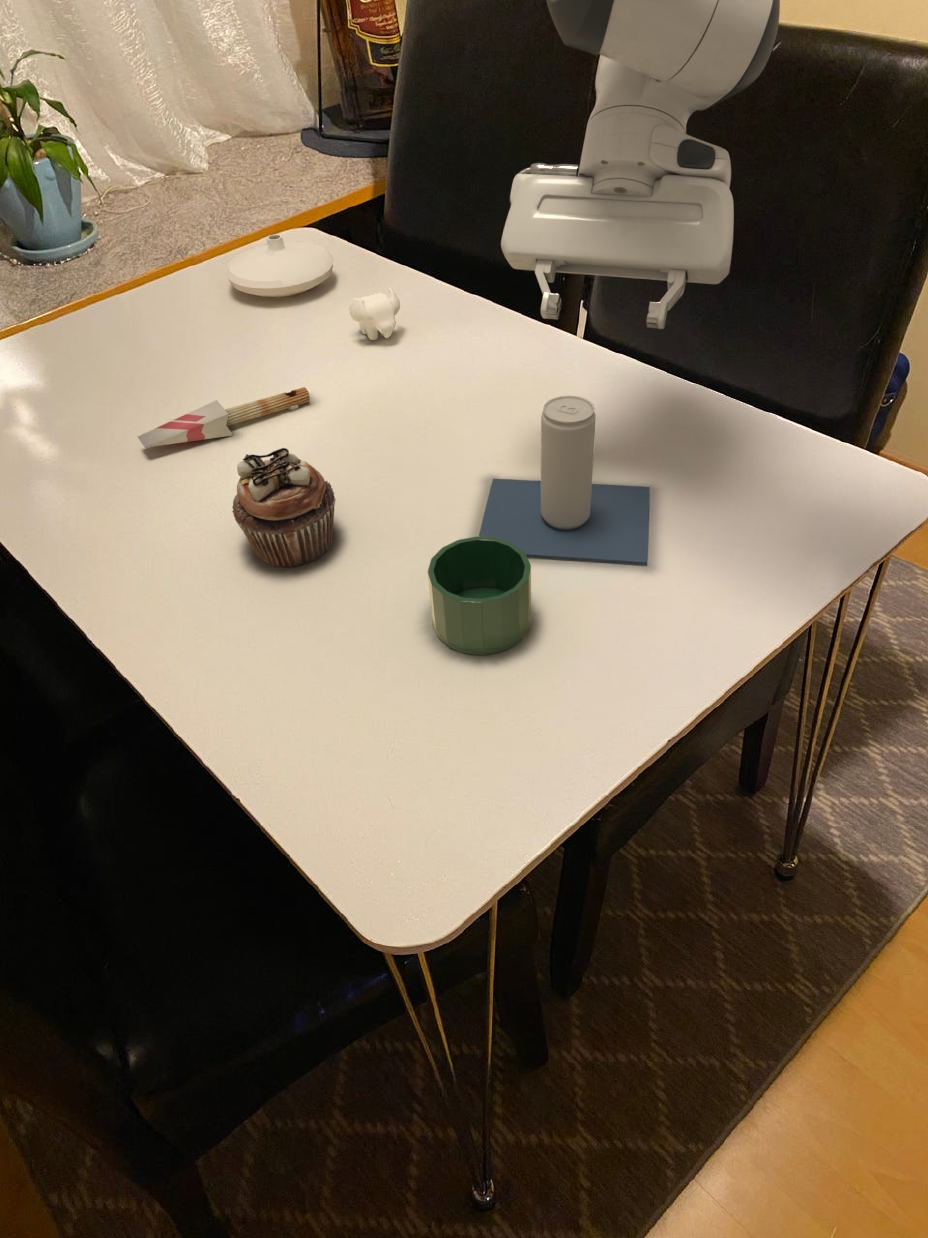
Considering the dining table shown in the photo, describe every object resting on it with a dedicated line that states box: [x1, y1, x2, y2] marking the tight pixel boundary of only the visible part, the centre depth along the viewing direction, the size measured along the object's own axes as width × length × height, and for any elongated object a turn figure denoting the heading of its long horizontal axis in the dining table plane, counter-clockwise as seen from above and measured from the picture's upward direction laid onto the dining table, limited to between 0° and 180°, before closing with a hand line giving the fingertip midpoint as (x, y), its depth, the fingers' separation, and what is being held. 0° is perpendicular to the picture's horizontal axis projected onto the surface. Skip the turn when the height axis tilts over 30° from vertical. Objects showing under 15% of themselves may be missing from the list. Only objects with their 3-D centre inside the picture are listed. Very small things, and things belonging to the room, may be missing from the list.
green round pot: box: [427, 535, 532, 656], centre depth 76 cm, size 8×8×6 cm
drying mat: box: [478, 478, 650, 566], centre depth 88 cm, size 16×12×1 cm
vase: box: [225, 233, 334, 298], centre depth 130 cm, size 16×16×7 cm
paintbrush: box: [137, 386, 311, 448], centre depth 103 cm, size 4×3×20 cm
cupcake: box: [231, 447, 337, 568], centre depth 84 cm, size 10×10×10 cm
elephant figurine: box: [349, 287, 401, 341], centre depth 117 cm, size 7×8×6 cm
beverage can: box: [540, 395, 597, 530], centre depth 84 cm, size 5×5×12 cm
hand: (601, 321), depth 79 cm, fingers open, 8 cm apart
